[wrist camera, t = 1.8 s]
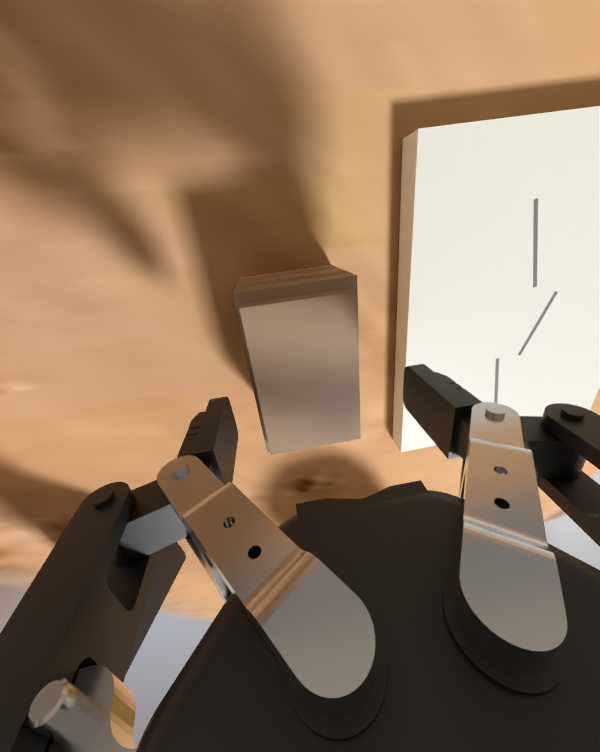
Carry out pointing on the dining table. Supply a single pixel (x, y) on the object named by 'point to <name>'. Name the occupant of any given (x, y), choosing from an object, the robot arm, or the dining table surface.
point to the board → (501, 262)
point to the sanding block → (302, 354)
